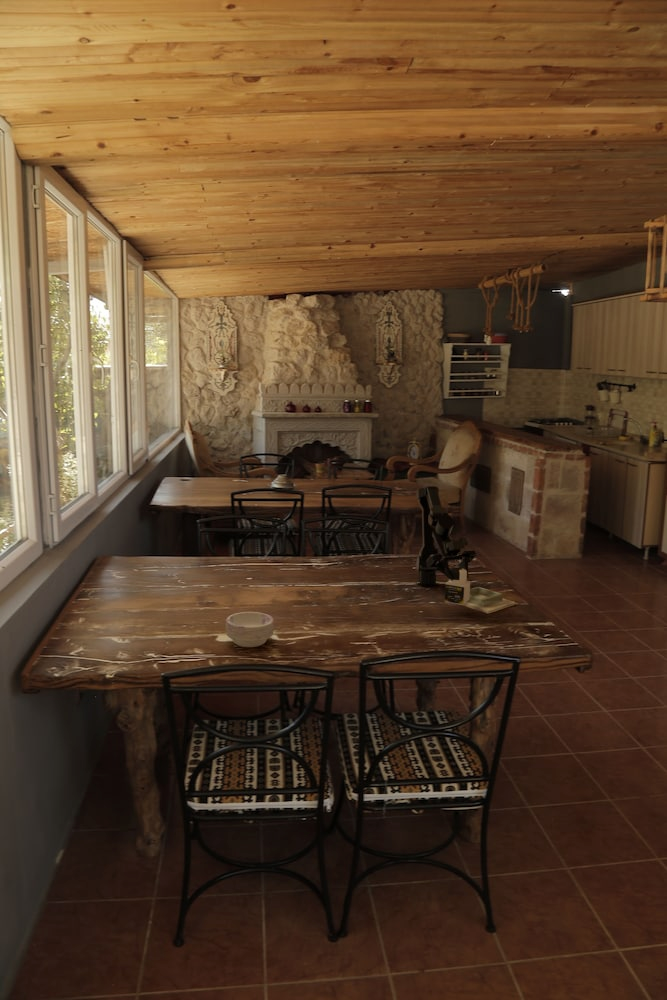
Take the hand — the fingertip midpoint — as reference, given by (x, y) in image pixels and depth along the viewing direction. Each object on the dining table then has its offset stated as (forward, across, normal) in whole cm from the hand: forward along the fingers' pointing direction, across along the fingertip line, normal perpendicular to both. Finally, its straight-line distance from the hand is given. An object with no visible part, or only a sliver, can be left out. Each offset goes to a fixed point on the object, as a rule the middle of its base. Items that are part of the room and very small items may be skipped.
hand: (460, 579), depth 271 cm
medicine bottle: (+5, 0, +7) cm, 9 cm away
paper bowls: (+6, -78, +12) cm, 79 cm away
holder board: (+4, +15, +14) cm, 21 cm away
